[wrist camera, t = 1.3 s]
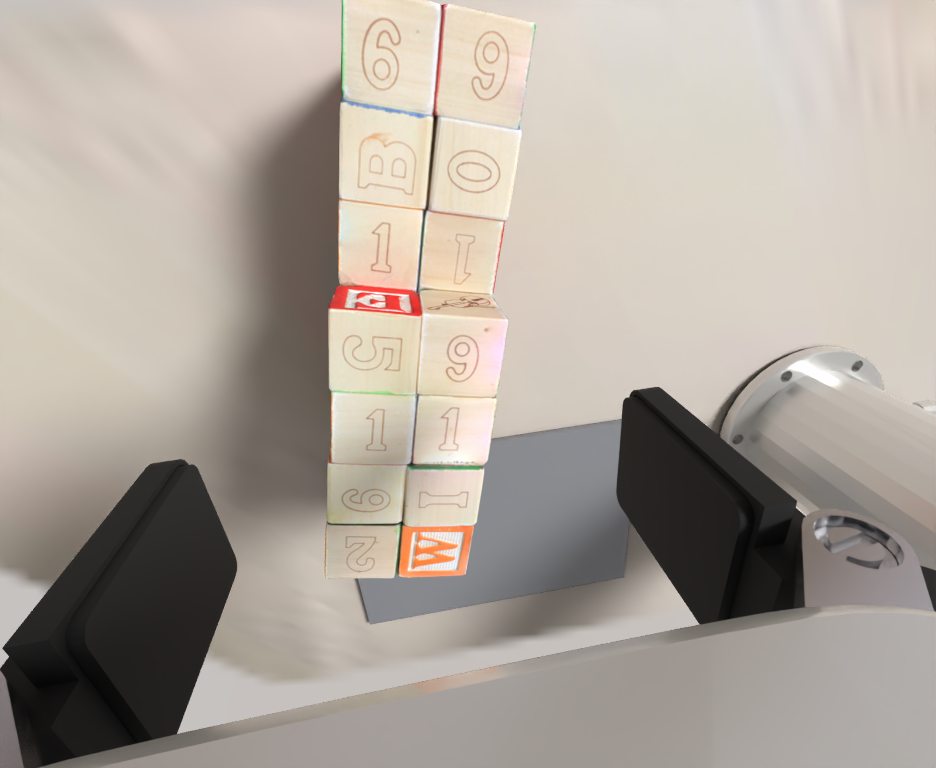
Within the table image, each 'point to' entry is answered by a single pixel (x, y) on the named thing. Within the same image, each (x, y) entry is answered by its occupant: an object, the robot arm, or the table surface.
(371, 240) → the stack of blocks
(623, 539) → the mat
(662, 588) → the table surface
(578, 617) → the table surface
